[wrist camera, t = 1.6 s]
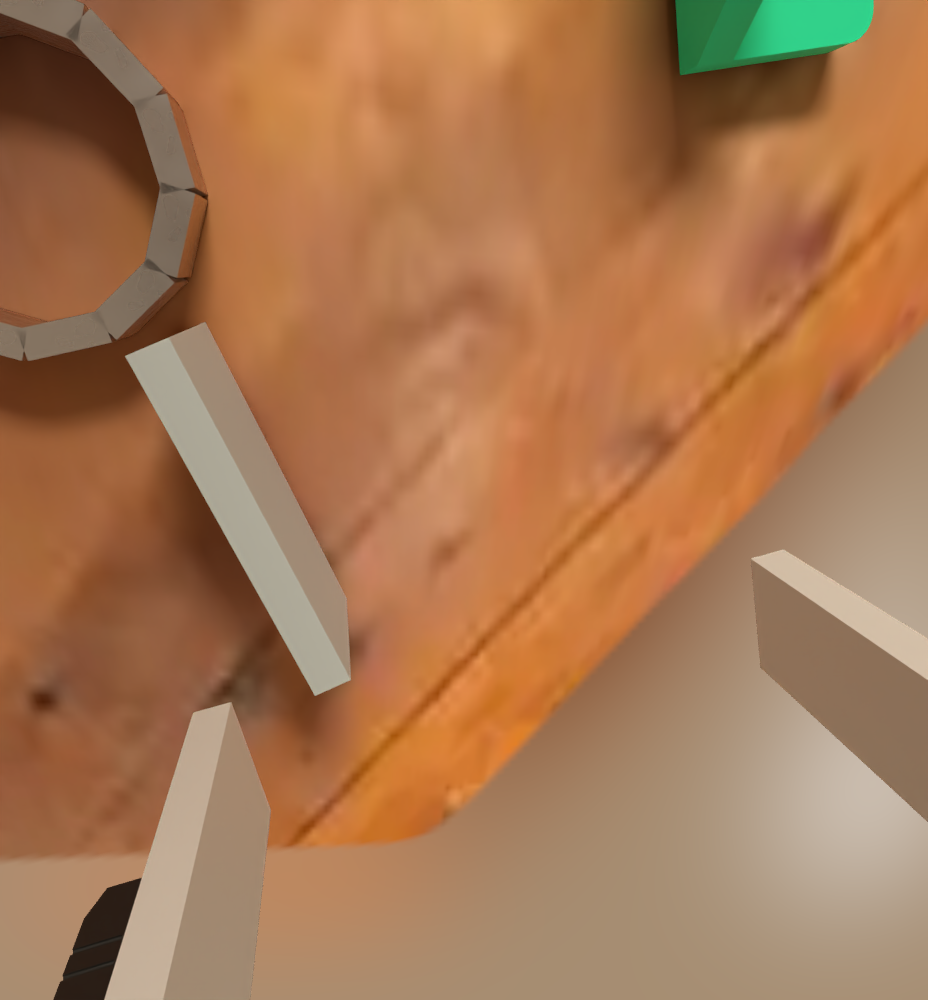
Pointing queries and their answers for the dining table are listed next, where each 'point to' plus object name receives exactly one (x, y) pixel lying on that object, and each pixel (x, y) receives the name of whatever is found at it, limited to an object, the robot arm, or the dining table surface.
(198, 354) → the hinge leaf
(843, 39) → the camera mount
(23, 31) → the hinge fixed
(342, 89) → the dining table surface
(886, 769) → the robot arm
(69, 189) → the dining table surface
